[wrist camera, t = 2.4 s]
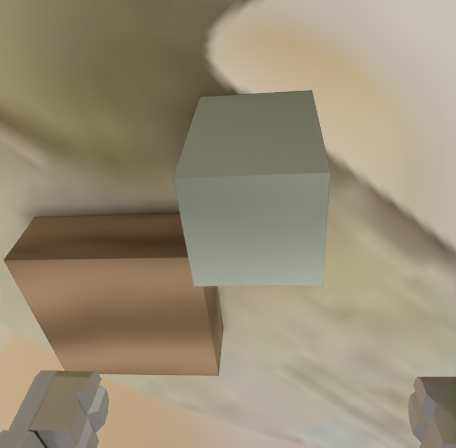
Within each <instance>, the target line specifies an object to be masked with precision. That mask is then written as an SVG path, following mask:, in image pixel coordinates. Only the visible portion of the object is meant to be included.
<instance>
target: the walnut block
mask: <svg viewBox="0 0 456 448" xmlns="http://www.w3.org/2000/svg"><path fill="white" fill-rule="evenodd" d="M4 262H5V264H6V265H7V267H8V269H9V271H10V273H11V274H12V276H13V278H14V280H15V282H16V283H17V285H18V287H19V289H20V291H21V292H22V294H23V296H24V298H25V300H26V301H27V303H28V305H29V307H30V309H31V310H32V312H33V314H34V316H35V318H36V319H37V321H38V323H39V325H40V327H41V328H42V330H43V332H44V334H45V336H46V337H47V339H48V341H49V343H50V345H51V346H52V348H53V350H54V352H55V354H56V355H57V357H58V359H59V361H60V363H61V364H62V366H63V368H64V369H65V371H85V372H98V374H138V375H201V376H219V367H220V357H221V347H222V336H223V323H222V316H221V309H220V303H219V296H218V289H217V286H194V283H193V278H192V273H191V268H190V263H189V258H188V253H187V248H186V243H185V237H184V232H183V227H182V222H181V217H180V213H175V214H135V215H96V216H57V217H34V219H33V220H32V222H31V223H30V224H29V226H28V227H27V229H26V230H25V231H24V233H23V234H22V236H21V237H20V238H19V240H18V241H17V243H16V244H15V245H14V247H13V248H12V249H11V251H10V252H9V254H8V255H7V256H6V258H5V259H4Z"/></svg>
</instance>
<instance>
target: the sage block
mask: <svg viewBox="0 0 456 448" xmlns="http://www.w3.org/2000/svg"><path fill="white" fill-rule="evenodd" d="M173 181H174V186H175V191H176V197H177V202H178V207H179V212H180V217H181V222H182V227H183V232H184V237H185V243H186V248H187V253H188V258H189V263H190V268H191V273H192V278H193V283H194V286H296V285H323V272H324V258H325V244H326V229H327V215H328V201H329V186H330V168H329V164H328V160H327V155H326V151H325V146H324V142H323V137H322V133H321V128H320V124H319V119H318V115H317V111H316V106H315V102H314V97H313V93H312V90H310V91H291V92H275V93H257V94H243V95H226V96H209V97H200V99H199V102H198V105H197V108H196V111H195V114H194V117H193V120H192V123H191V126H190V129H189V132H188V135H187V138H186V141H185V144H184V147H183V150H182V153H181V156H180V159H179V162H178V165H177V168H176V171H175V174H174V177H173Z"/></svg>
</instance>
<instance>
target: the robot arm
mask: <svg viewBox="0 0 456 448" xmlns="http://www.w3.org/2000/svg"><path fill="white" fill-rule="evenodd" d="M100 381H101V378H100V376H99V374H98V372H85V371H46V370H45V371H44V370H43V371H40V373H38V374H37V375H36V377H35V378H34V380H33V382H32V385H31V386H30V388H29V390H28V392H27V395H26V396H25V398H24V400H23V402H22V404H21V406H20V408H19V410H18V412H17V414H16V416H15V418H14V420H13V422H12V424H11V426H10V428H9V430H3V431H2V432H1V433H0V448H97V446H98V442H99V440H98V437H97V434H96V432H97V431H98V430H99V429H100V428H101V427H102V426H103V425H104V424H105V420H106V417H107V414H108V405H109V400H108V393H107V391H106V389H105V388H104V387H102V386H100V385H99V384H100ZM414 388H415V393H413V394H411V395H410V399H409V403H408V408H409V419H410V424H411V428H412V432H413V434H414V435H415V436H416V437H417V439H418V440H419V441H420V442H421V446H420V448H456V377H417V378H416V379H415V382H414Z"/></svg>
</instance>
